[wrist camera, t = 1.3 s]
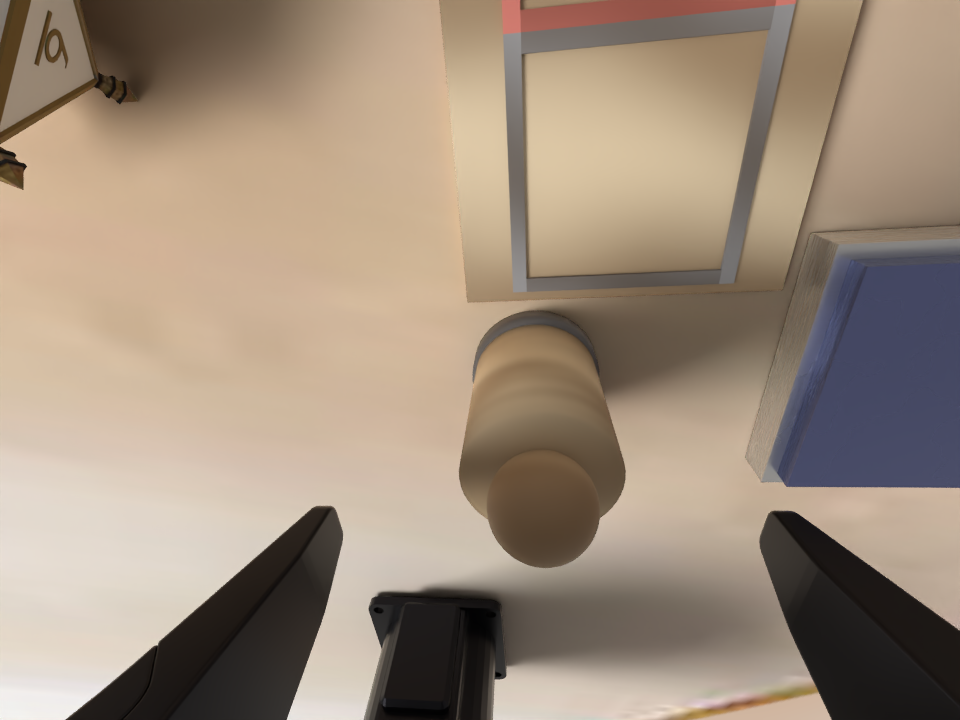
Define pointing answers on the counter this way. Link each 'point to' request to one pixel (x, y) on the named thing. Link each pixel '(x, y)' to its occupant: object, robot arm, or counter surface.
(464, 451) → the stamp
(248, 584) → the robot arm
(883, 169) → the counter surface
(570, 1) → the card sheet
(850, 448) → the ink pad
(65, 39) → the game die
